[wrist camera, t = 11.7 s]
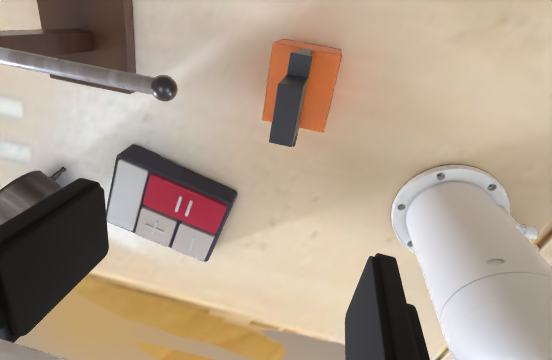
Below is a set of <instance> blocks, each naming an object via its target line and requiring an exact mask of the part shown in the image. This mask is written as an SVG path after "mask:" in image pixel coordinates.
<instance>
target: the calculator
mask: <svg viewBox="0 0 552 360" xmlns="http://www.w3.org/2000/svg"><path fill="white" fill-rule="evenodd" d="M236 196H237V192H236V191H235V190H232V189H230V188H228V187H225V186H223V185H221V184H218V183H216V182H214V181H211V180H209V179H207V178H205V177H202V176H200V175H198V174H195V173H193V172H191V171H188V170H186V169H184V168H181V167H179V166H177V165H174V164H172V163H170V162H168V161H165V160H163V159H162V158H161V157H160V156H159V155H158V154H155V153H153V152H151V151H148V150H146V149H144V148H141V147H139V146H137V145H131V146H130V147H128V148H127V149H125V150H124V151H123V152H121V153H120V154H118V155H117V158H116V163H115V168H114V173H113V178H112V184H111V189H110V194H109V199H108V204H107V209H106V221H107V222H109V223H111V224H114V225H116V226H119V227H121V228H124V229H126V230H129V231H131V232H133V233H136V234H137V235H139V236H141V237H144V238H146V239H149V240H151V241H154V242H156V243H159V244H161V245H164V246H168V247H170V248H172V249H174V250H176V251H178V252H181V253H183V254H186V255H188V256H191V257H193V258H196V259H198V260H200V261H205V262H206V261H208V260H209V258H210V256H211V253H212V251H213V249H214V247H215V244H216V242H217V240H218V237H219V235H220V233H221V231H222V228H223V226H224V224H225V221H226V219H227V217H228V215H229V212H230V210H231V208H232V205H233V203H234V201H235V199H236Z"/></svg>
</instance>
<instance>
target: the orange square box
mask: <svg viewBox="0 0 552 360" xmlns="http://www.w3.org/2000/svg"><path fill="white" fill-rule="evenodd" d="M341 57H342V54H341V49H335V48H330V47H325V46H319V45H314V44H308V43H303V42H297V41H292V40H287V39H282V40H280V41H277V42H274V43H273V48H272V55H271V62H270V69H269V76H268V83H267V91H266V98H265V105H264V112H263V120H265V121H270V122H272V126H271V132H270V139H269V142H270V143H275V144H280V145H284V146H289V147H292V146H293V147H294V146H295V144H296V140H297V135H298V130H299V128H304V129H309V130H314V131H318V132H324V129H325V124H326V120H327V116H328V112H329V107H330V103H331V99H332V95H333V91H334V86H335V82H336V78H337V74H338V70H339V65H340V61H341Z"/></svg>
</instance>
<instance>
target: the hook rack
mask: <svg viewBox="0 0 552 360" xmlns="http://www.w3.org/2000/svg"><path fill="white" fill-rule="evenodd" d="M37 3H38V9H39V15H40V21H41V27H42V29H41V30H9V31H0V64H3V65H8V66H13V67H18V68H23V69H28V70H33V71H38V72H43V73H48V74H50V78H53V79H58V80H63V81H68V82H73V83H78V84H83V85H87V86H92V87H97V88H102V89H107V90H112V91H117V92H122V93H127V94H131V93H134V92H136V91H137V92H142V93H147V94H152V95H154V97H155V98H157V99H158V100H160V101H170V100H172V99H173V98H174V97H175V96H176V94H177V84H176V82H175V81H174V80H173V79H172V78H171V77H169V76H167V75H159V76H157V77H149V76H144V75H139V74H136V70H135V50H134V30H133V10H132V0H37Z"/></svg>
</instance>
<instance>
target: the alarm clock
mask: <svg viewBox="0 0 552 360" xmlns="http://www.w3.org/2000/svg"><path fill="white" fill-rule="evenodd" d="M65 171H66V168H64V167H62V168H61V169H60V170H59V171H57V172H56V173H54V174H53V175H52V176H51V177H48V176H46V175H45V174H43V173H42V172H41V171H33V172H29V173H27V174H25V175H22V176H21V177H19V178H17V179H15V180H14V181H12V182H11V183H9V184H8V185H6V186H5V187H4V188H2V189H1V190H0V225H1V224H3V223H5V222H6V221H8V220H10V219H11V218H13V217H15V216H16V215H18V214H20V213H22V212H23V211H25V210H27V209H28V208H30V207H32V206H33V205H35V204H37V203H38V202H40V201H42V200H43V199H45V198H47V197H48V196H50V195H52V194H54V193H55V192H57V191H59V190H60V189H62V187H61V186H60V185H59V184H57V183H56V182H55V180H56V179H57V178H58V177H59V176H60V175H61V174H62V172H65Z"/></svg>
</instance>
